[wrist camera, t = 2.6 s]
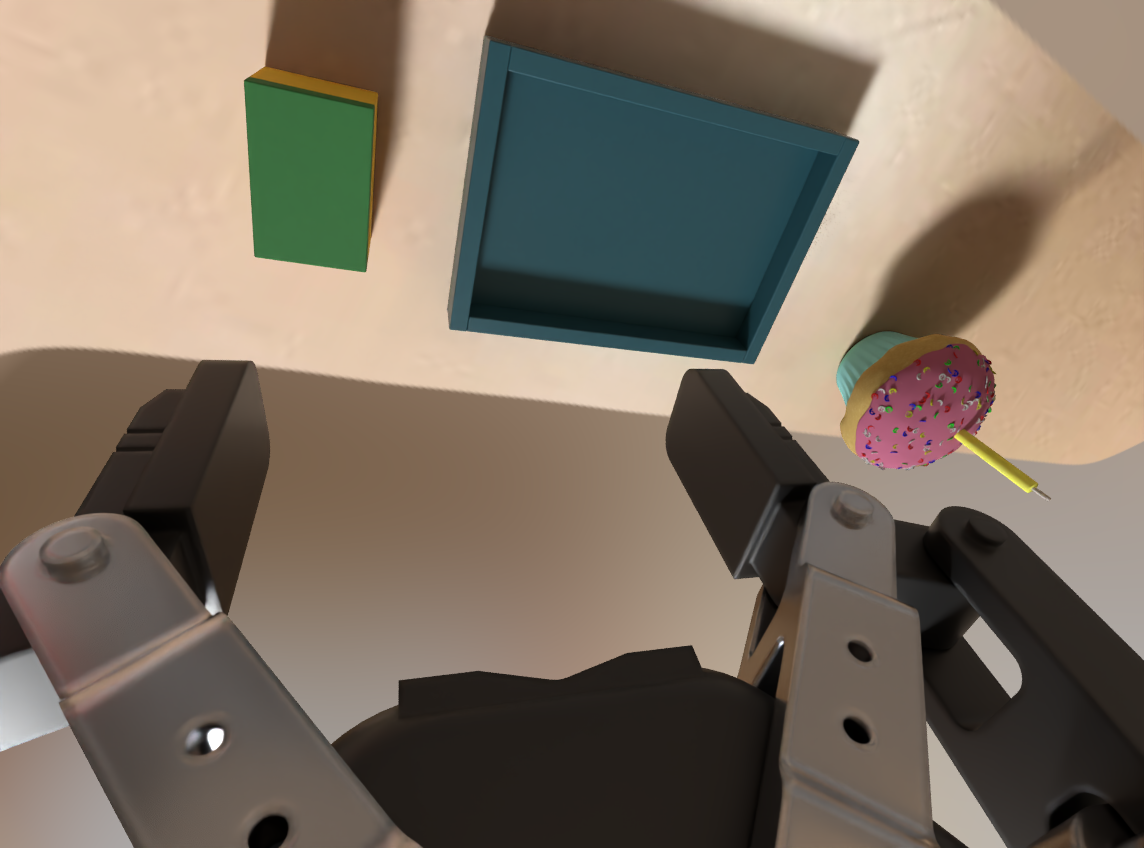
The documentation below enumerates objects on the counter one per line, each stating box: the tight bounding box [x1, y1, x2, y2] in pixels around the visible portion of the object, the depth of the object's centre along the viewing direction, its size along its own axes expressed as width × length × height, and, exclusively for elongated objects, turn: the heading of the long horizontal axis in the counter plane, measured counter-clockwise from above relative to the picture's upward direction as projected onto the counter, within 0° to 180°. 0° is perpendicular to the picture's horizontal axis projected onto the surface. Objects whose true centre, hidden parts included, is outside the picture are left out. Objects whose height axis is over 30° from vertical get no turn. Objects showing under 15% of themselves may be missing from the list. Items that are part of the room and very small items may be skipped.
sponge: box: [244, 67, 378, 272], centre depth 23 cm, size 6×4×4 cm, turn 166°
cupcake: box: [837, 331, 1051, 501], centre depth 33 cm, size 9×8×12 cm
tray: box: [447, 35, 859, 364], centre depth 28 cm, size 17×12×2 cm
